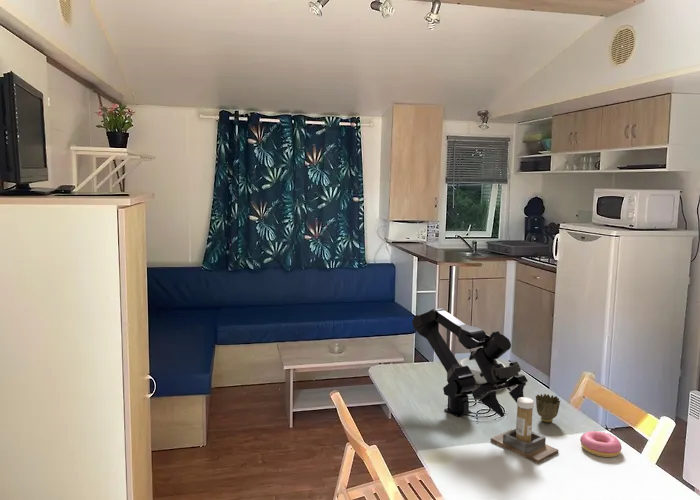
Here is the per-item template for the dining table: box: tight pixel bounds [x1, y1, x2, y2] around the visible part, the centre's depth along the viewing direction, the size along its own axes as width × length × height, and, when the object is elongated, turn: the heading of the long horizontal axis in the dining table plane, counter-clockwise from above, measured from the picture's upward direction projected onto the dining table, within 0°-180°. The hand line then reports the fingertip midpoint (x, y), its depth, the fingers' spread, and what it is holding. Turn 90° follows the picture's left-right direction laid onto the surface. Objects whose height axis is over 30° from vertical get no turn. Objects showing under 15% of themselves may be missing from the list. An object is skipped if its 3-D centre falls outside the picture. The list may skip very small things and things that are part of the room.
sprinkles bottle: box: [515, 396, 535, 443], centre depth 156 cm, size 5×5×14 cm
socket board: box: [490, 428, 559, 464], centre depth 157 cm, size 16×10×4 cm, turn 37°
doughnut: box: [579, 430, 623, 458], centre depth 156 cm, size 11×11×4 cm
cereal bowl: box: [459, 357, 506, 385], centre depth 210 cm, size 17×17×7 cm
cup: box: [535, 393, 561, 424], centre depth 174 cm, size 8×7×8 cm
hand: (514, 413), depth 159 cm, fingers open, 9 cm apart
